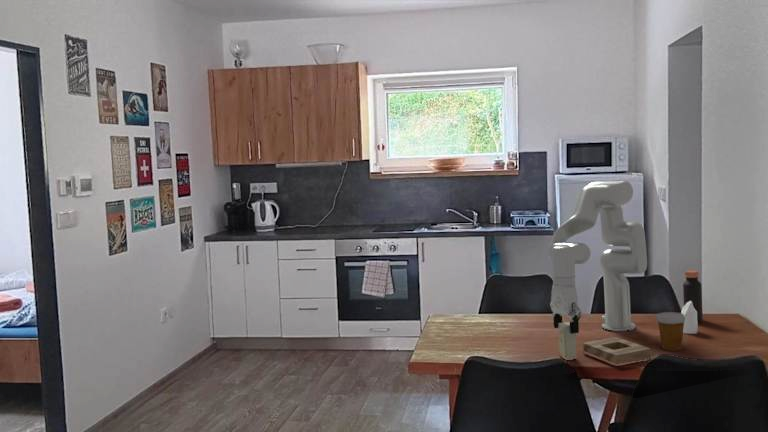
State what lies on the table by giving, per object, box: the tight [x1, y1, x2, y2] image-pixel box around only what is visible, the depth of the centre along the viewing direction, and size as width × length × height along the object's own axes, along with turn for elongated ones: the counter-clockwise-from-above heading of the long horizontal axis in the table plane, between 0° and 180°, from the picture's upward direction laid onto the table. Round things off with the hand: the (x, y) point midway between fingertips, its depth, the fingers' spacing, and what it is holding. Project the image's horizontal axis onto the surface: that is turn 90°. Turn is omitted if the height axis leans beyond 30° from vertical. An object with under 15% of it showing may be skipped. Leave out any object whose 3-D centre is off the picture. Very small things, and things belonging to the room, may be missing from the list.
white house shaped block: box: [680, 301, 699, 335], centre depth 272 cm, size 6×12×6 cm
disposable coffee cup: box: [656, 311, 685, 352], centre depth 253 cm, size 10×10×12 cm
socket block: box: [582, 336, 652, 364], centre depth 248 cm, size 18×14×4 cm
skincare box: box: [558, 321, 577, 357], centre depth 250 cm, size 6×4×12 cm
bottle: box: [682, 269, 704, 323], centre depth 287 cm, size 7×7×20 cm
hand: (566, 330), depth 249 cm, fingers open, 9 cm apart
